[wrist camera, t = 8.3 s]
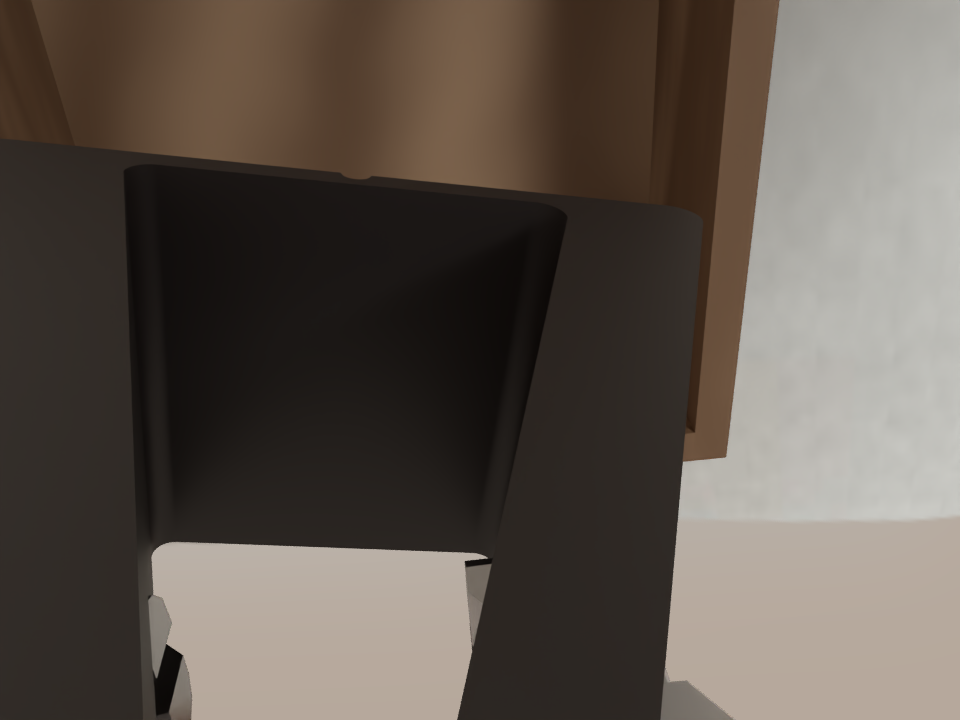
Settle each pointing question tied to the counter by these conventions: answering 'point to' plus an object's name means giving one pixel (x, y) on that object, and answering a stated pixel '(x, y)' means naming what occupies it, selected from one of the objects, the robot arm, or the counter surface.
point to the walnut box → (435, 108)
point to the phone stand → (337, 410)
